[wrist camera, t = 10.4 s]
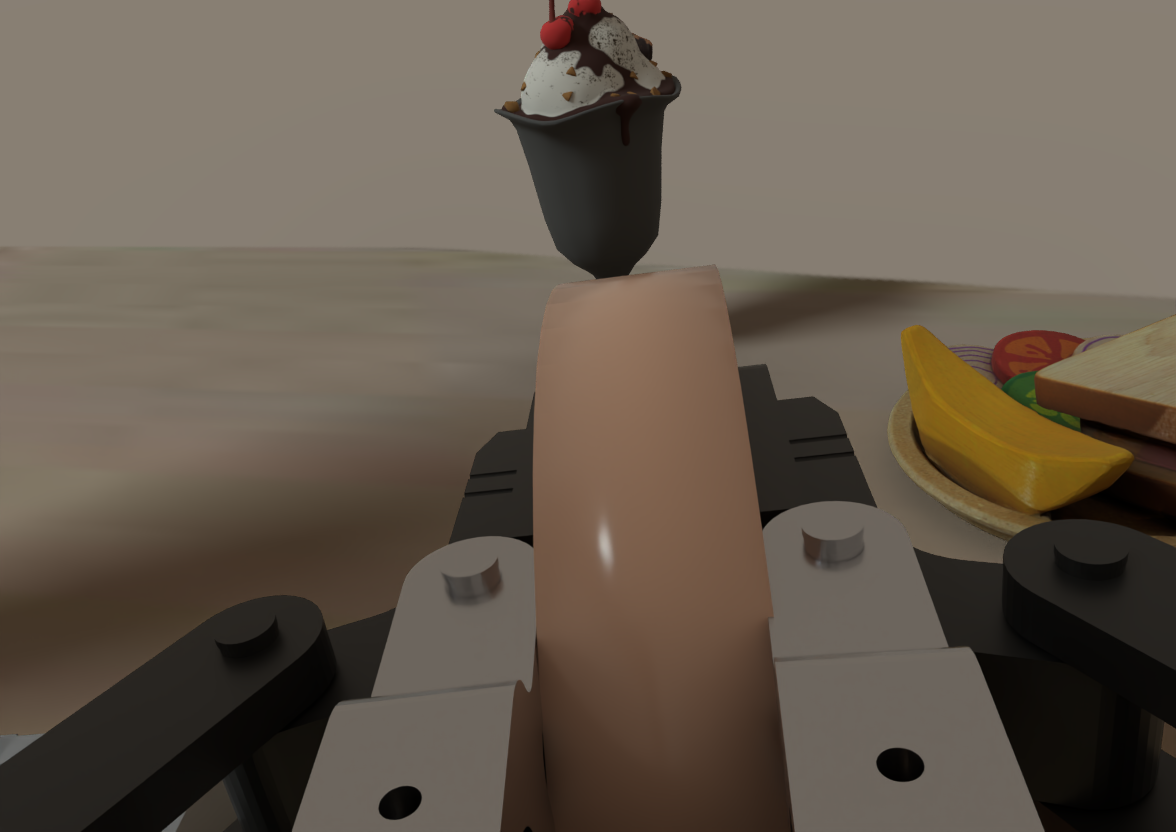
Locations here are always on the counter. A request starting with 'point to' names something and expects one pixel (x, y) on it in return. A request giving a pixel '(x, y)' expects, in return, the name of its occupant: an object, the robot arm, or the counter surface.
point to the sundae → (595, 137)
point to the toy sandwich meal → (1043, 428)
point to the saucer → (651, 565)
